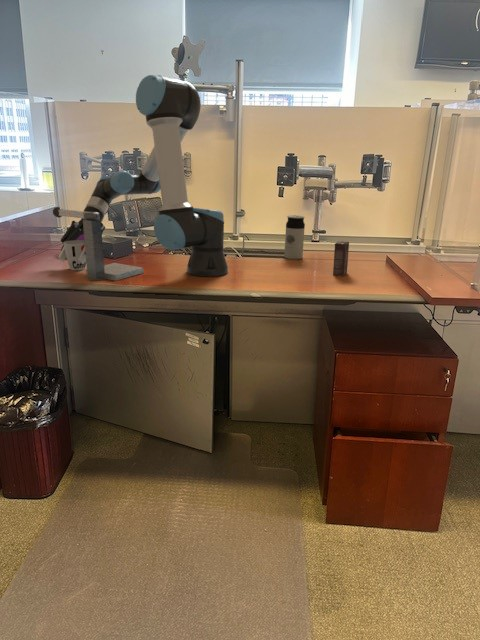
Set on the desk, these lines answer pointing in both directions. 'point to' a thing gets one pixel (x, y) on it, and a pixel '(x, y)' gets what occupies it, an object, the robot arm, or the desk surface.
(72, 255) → the cup
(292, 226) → the travel mug
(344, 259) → the box
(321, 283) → the desk surface
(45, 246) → the desk surface
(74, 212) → the lever
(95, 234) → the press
